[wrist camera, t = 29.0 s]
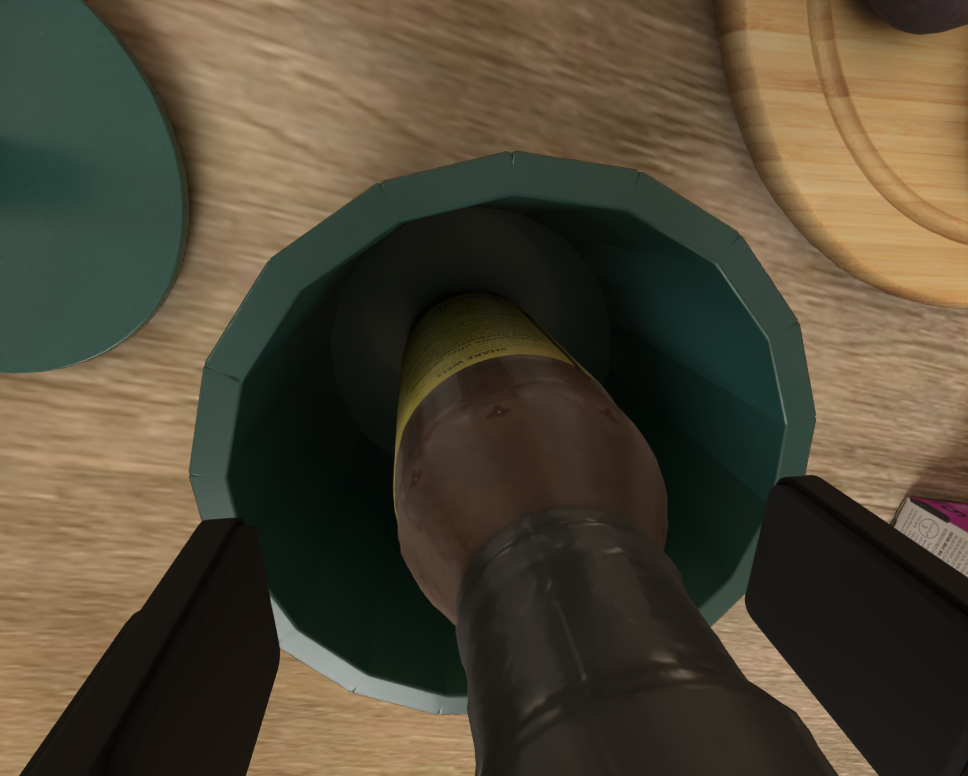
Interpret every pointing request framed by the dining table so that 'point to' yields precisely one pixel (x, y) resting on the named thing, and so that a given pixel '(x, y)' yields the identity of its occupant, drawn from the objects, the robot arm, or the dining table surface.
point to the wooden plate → (861, 131)
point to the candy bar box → (937, 528)
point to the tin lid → (81, 188)
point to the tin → (556, 308)
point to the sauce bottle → (563, 566)
